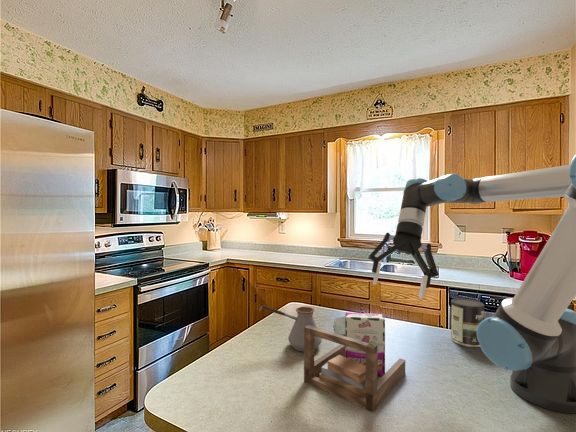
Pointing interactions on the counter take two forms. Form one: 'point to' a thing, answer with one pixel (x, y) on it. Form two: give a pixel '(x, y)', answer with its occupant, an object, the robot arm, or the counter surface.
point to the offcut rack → (312, 369)
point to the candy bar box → (366, 337)
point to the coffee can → (466, 321)
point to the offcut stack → (345, 374)
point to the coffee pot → (299, 326)
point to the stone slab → (339, 326)
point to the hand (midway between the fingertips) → (397, 291)
